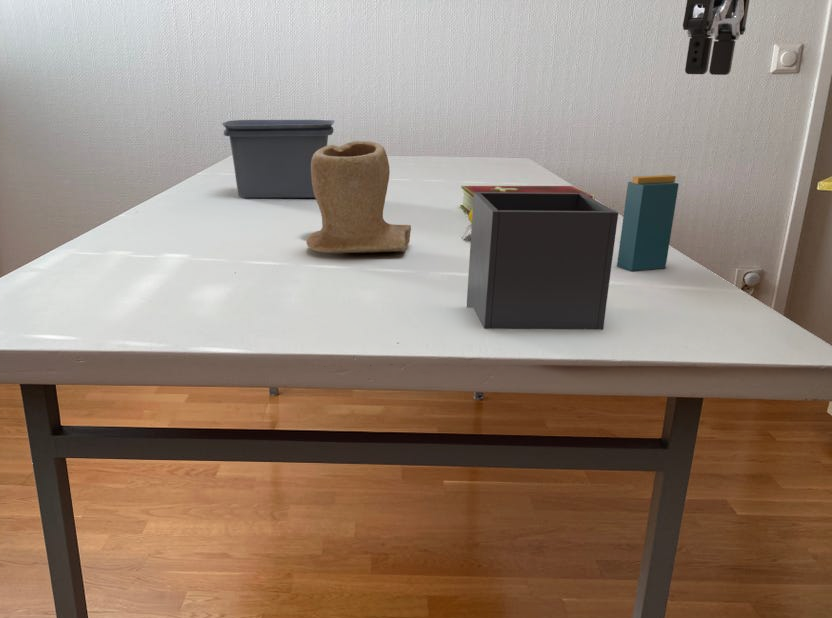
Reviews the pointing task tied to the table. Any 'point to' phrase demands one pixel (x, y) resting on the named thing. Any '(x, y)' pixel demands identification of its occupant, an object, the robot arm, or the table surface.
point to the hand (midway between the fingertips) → (707, 74)
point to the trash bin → (540, 260)
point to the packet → (647, 222)
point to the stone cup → (354, 200)
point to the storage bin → (275, 155)
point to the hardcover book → (469, 191)
